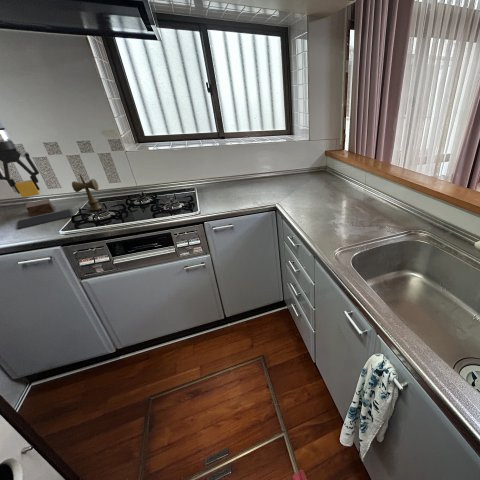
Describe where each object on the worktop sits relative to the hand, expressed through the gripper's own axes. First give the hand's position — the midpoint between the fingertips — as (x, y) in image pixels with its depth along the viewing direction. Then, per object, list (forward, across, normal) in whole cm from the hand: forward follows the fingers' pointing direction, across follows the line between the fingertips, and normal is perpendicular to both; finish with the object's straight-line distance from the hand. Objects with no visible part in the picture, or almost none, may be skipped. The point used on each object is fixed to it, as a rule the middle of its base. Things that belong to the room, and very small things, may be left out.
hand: (29, 191), depth 129 cm
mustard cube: (+2, 0, 0) cm, 2 cm away
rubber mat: (+15, 0, 0) cm, 15 cm away
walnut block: (+15, -1, +14) cm, 21 cm away
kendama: (+15, +21, -4) cm, 26 cm away
